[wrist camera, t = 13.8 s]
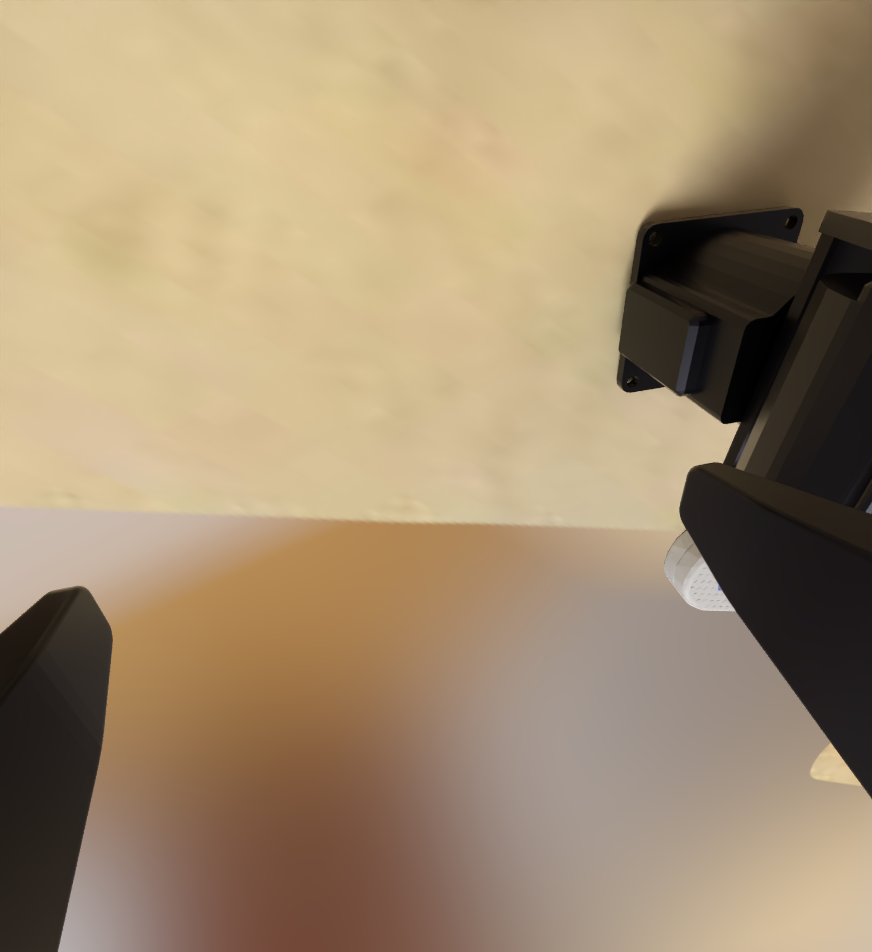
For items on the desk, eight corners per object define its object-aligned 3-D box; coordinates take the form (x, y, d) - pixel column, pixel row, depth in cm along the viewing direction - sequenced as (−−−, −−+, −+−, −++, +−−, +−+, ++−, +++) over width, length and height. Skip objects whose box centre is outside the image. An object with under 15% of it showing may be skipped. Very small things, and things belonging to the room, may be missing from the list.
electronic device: (830, 652, 21) (1069, 651, 26) (686, 503, 29) (888, 521, 34) (757, 734, 24) (985, 721, 28) (643, 577, 32) (836, 585, 36)
